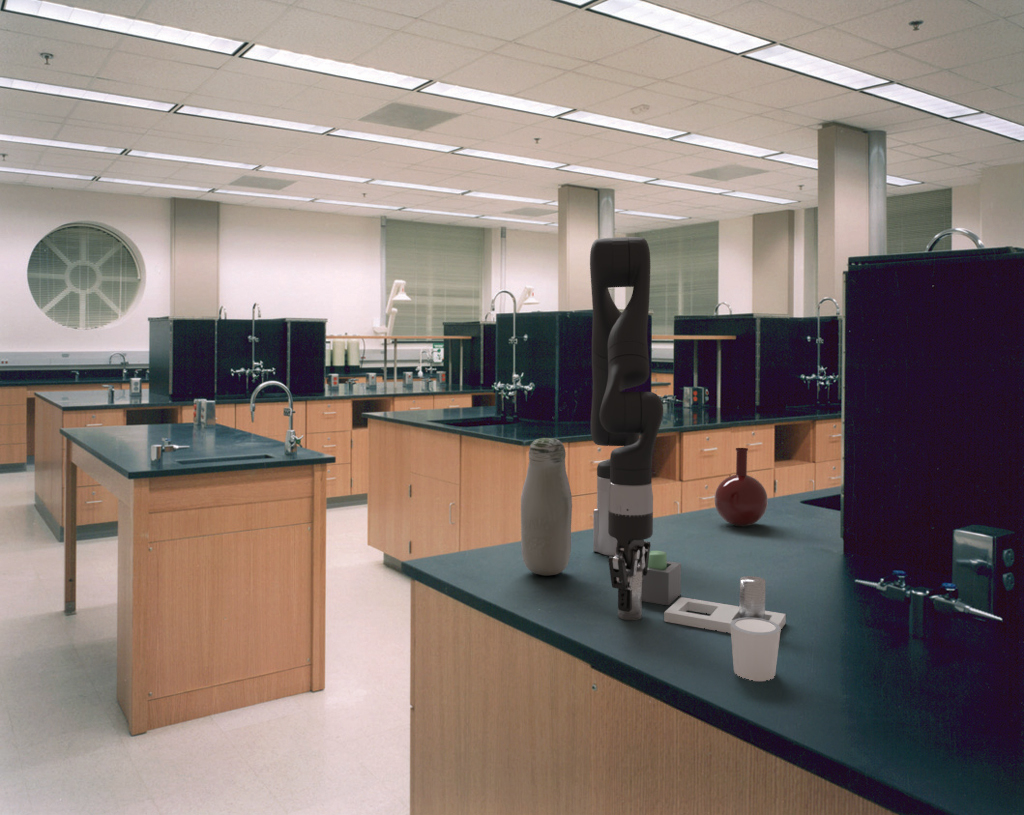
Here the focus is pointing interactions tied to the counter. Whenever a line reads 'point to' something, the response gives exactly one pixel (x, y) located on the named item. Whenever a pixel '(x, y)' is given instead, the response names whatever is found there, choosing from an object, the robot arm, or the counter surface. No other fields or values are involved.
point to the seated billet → (752, 597)
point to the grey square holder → (662, 584)
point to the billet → (634, 599)
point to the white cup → (755, 648)
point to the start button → (657, 560)
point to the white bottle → (546, 509)
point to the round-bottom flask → (741, 495)
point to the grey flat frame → (718, 611)
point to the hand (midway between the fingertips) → (629, 606)
